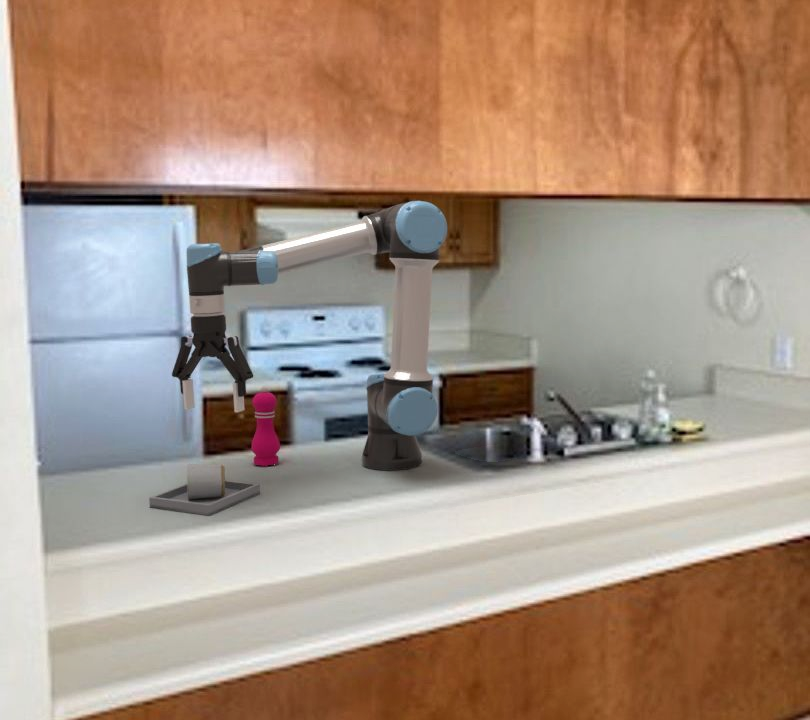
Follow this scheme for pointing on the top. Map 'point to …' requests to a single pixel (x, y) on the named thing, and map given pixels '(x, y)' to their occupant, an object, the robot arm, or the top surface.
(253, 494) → the grey tray
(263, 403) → the pepper mill
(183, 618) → the top surface
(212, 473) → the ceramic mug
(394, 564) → the top surface
